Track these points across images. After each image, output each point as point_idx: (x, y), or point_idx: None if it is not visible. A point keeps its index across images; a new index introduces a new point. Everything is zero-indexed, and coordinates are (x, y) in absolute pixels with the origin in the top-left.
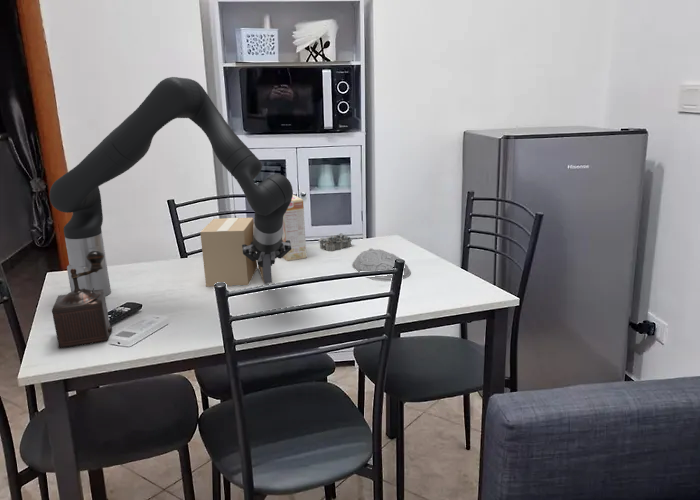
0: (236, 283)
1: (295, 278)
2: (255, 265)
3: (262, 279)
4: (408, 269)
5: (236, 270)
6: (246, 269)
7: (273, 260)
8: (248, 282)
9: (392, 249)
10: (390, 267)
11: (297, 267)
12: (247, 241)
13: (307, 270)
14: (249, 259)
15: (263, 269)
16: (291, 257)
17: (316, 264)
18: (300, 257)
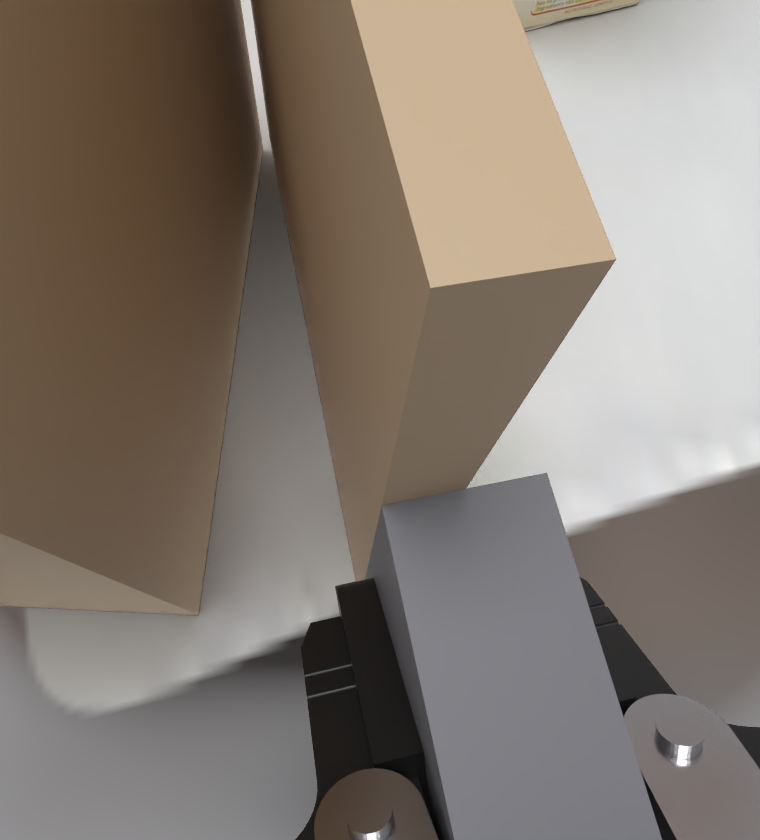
0: (63, 607)
1: (653, 459)
2: (247, 174)
3: (343, 515)
4: None
5: (2, 590)
6: (143, 595)
7: None
8: (197, 583)
9: None
10: None
11: (609, 184)
12: (48, 174)
13: (713, 266)
14: (170, 339)
15: None
16: (536, 7)
17: (752, 141)
18: (600, 2)
